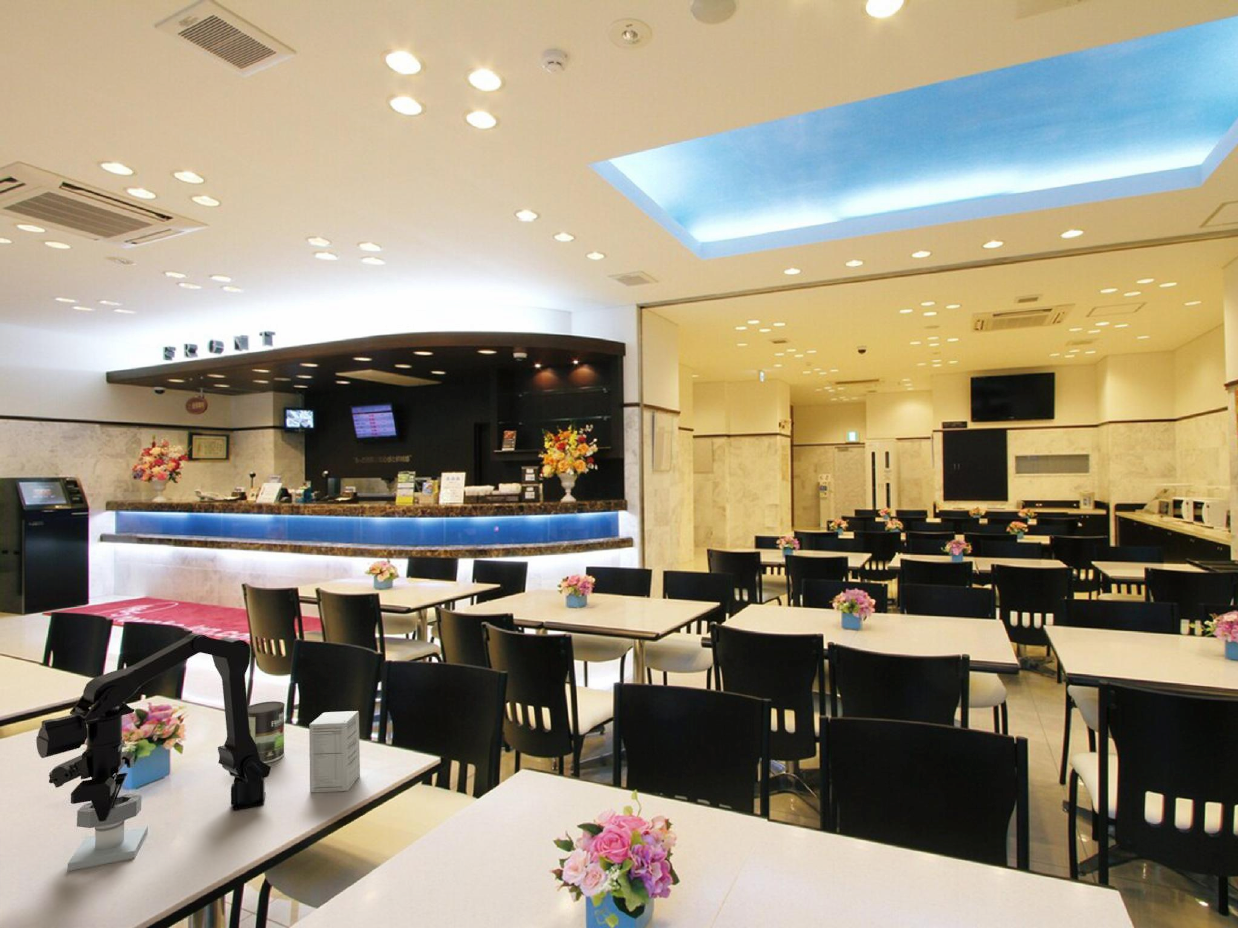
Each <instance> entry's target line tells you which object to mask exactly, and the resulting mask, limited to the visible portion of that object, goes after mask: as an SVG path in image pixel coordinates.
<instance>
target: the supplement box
mask: <svg viewBox="0 0 1238 928" xmlns="http://www.w3.org/2000/svg"><path fill="white" fill-rule="evenodd" d="M308 727H309V728H308V729H309V731H308V732H309V793H326V792H327V793H329V792H330V793H331V792H334V793H335V792H348V791H349V790H350V789H351V787H352V786H353V784H354V783H355V782H356V781H357V780H358V779H359V778H360V776H361V765H360V764H361V761H360V757H361V756H360V755H361V753H360V750H361V749H360V712H359V711H358V710H356V711H355V710H354V711H353V710H349V711H329V712H328V711H326V712H322V713H321V714H320V715H319V716H318V717H317V718H315V719H314V720H313V721H312V722H310V723H309V726H308Z"/></svg>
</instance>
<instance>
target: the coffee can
mask: <svg viewBox="0 0 1238 928" xmlns="http://www.w3.org/2000/svg"><path fill="white" fill-rule="evenodd" d="M285 706H286V705H285V703H284V702H282V701H274V700H273V701H263V702H262V701H261V702H258V703H257V702H256V703H255V704H251V705H248V716H249V728H250V734H251V736H252V738H253V740H254V742H255V743H256V745H257V748H258V751H259V755H260V760H261V761H262V762H264V763H265V764H267V765H268V764H270V763H273V762H274V763H275V762H276V761H278V760H280V759H282V758H283V757H284V756H285Z"/></svg>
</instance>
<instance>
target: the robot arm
mask: <svg viewBox="0 0 1238 928" xmlns="http://www.w3.org/2000/svg"><path fill="white" fill-rule="evenodd" d="M251 651H252V650H251V645H250V644H249V642H247V641H246V640H243V639H239V638H233V637H228V636H227V637H222V638H219V639H217V638H213V637H209V636H207V635H205V634H202V633H197V632H191V633H189V634H187V635H186V636H184V637H183V638H181V639H179V640H177V641H175V642H174V643H172V644H170V645H168V646H166V647H165V648H163V649H161V650H159V651H157V652H155V653H153V654H152V655H150V656H148V657H146V658H144V659H142V660H140V661H138V662H137V663H135V664H133V665H131V666H128V667H124V668H121V669H118V670H113V671H110V672H107V673H105V674H102V675H99V676H97V677H94V678H92V679H90V681H88V682H87V683H86V684H85V687H84V689H83V690H82V691H83V694H82V696H80V698H79V699H78V701H77V702H76V703H75V704H74V706H73V707H72V709H71V710H70V711H69V715H66V716H60V717H57V718H49V719H43V720H42V721H41V727H40V728H39V730H38V732H37V733H38V734H37V736H36V740H35V741H36V750H37V753H38V755H39V757H40V758H41V759H44V758H48V757H52V756H56V755H59V754H64V753H66V752H70V751H71V752H72V751H73V750H77V749H80V748H81V746H83V745H85V744H86V749H85V750H84V751H83V752H82V753H81V754H80V755H78V756H76V757H73V758H71V759H69V760H67V761H65V762H63V763H61V764H58V765H57V766H55V767H53V769H52V770H51V771H49V774H48V777H49V779H48V783H49V784H53V785H54V786H55V788H57V789H58V788H60V787H62V786H64V784H67V783H68V782H71V781H73V780H75V779H78V778H80V780H81V782H79V784H78V785H77V786H76V787H75V788H74V789H73V790H72V791H71V793H70V804H73V805H75V804H80V803H86V802H87V803H89V802H92V804H93V806H94V809H95V812H96V814H97V817H98V820H99V821H100V822H101V821H105V820H106V819H107V817H108V814H109V812H110V809H111V807H112V806H113V805H114V803H115V801H116V799H117V796H118V795H120V791H121V790H122V787H123V786H124V783H125V781H126V778H127V777H128V773H127V772H124V773H123V772H122V773H120V771H121V770H122V769H123V767H124V766H125V765H126V768H128V769H129V768H132V766H133V765H134V764H135V754H134V753H132V751H130V750H126V751H123V747H124V746H125V744H126V743H125V742H126V739H123V716H126V715H129V714H133V713H134V712H135V709H134V708H133V707H130V706H129V705H128V704H127V703H126V701H127V700H128V699H129V698H131V697H132V696H134V694H135V693H136V692H137V691H138V690H140V688H141V687H142V686H143V685H144V684H146V683H147V682H149V681H152V680H153V679H155V678H156V677H158V676H160V675H162V674H163V673H165V672H167V671H169V670H170V669H173V668H175V667H176V666H177V665H179V664H181V663H183V662H185V661H186V660H188V659H190V658H192V657H194V656H195V655H197V654H201V653H202V654H205V655H209V656H212V659H213V664H214V667H215V669H216V670H217V672H218V674H219V675H220V677H221V684H222V693H223V695H222V696H223V706H224V717H225V726H226V727H225V728H226V739H225V742H224V744H223V745H220V746H217V752H218V757H219V759H218V762H217V763H218V764H219V765H221V767H222V768H223V770H226V771H228V773H229V775H230V777H233V778H234V779H233V783H232V784H231V786H230V805H231V806H232V811H237V810H241V809H243V810H244V809H248V808H253V807H254V808H255V807H260V806H264V804H265V799H266V791H265V789H266V788H265V786H266V785H265V783H266V782H265V780H266V779H265V778H268V777H269V776H270V772H271V768H272V767H271V766H270V765H268V763H267V764H265V763H264V762H262V761H261V760H260V755H259V751H258V748H257V745H256V743H255V742H254V740H253V738H252V736H251V734H250V728H249V716H248V706H249V705H248V697H247V683H246V674H247V670H248V668H249V666H250V663H251V662H250V661H251V654H252V653H251ZM89 778H90V779H89ZM85 779H86V780H85Z"/></svg>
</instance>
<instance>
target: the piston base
mask: <svg viewBox="0 0 1238 928" xmlns="http://www.w3.org/2000/svg"><path fill="white" fill-rule="evenodd" d="M125 821H126V820H124V821H121V822H118V823H115V824H110V825H105V826H99V827H94V835H91V836H86V837H85V838H84V839H83V841H82V842H81V843H80V845H79V846H78V848H77V849H76V851H75V852H74V853H73V855H72V857H71V858H70V860H69V861H68V863H67V872H71V871H76V870H81V869H86V868H91V867H97V866H101V865H106V864H110V863H117V862H121V861H122V862H123V861H127V860H132V859H135V858H136V856H137V854H138V853H139V851H140V849H141V847H142V845H143V843H144V841H145V839H146V837H147V835H148V834H149V833H148V832H149V831H148V827H149V826H148V825H146V826H140V827H135V828H129V829H125Z"/></svg>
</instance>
